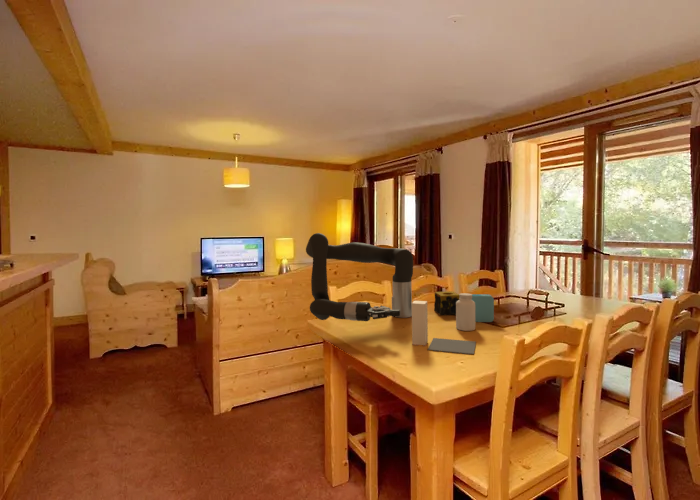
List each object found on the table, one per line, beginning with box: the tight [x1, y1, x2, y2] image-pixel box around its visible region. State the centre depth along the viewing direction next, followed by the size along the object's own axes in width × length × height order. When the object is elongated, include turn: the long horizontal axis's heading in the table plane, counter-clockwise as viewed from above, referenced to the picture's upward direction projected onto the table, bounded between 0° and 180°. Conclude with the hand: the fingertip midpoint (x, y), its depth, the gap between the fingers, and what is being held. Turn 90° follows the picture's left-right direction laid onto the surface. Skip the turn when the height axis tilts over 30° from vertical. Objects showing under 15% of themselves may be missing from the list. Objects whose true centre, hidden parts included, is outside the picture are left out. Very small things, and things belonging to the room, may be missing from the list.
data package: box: [471, 293, 495, 323], centre depth 177 cm, size 12×4×12 cm, turn 81°
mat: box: [427, 337, 477, 355], centre depth 142 cm, size 16×14×1 cm
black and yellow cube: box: [433, 290, 460, 316], centre depth 193 cm, size 10×10×10 cm
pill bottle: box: [455, 292, 476, 332], centre depth 164 cm, size 8×8×15 cm
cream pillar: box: [411, 300, 429, 347], centre depth 146 cm, size 5×5×16 cm
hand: (399, 313), depth 149 cm, fingers closed
